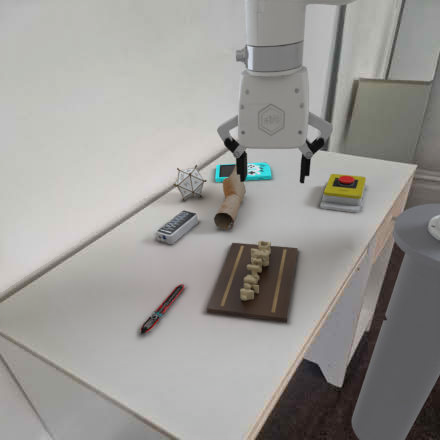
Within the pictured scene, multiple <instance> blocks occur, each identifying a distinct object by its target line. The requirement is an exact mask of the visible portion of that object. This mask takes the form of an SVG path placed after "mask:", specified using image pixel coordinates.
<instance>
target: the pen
mask: <svg viewBox="0 0 440 440" xmlns="http://www.w3.org/2000/svg"><path fill="white" fill-rule="evenodd" d="M184 288H185V285H184V283H181V284H178V285H176V287H174V289H173V290H172V291H171V292H170V294H168V296H167V297H166V298H165V299H164V301H162V303H161V304H160V305H159V307H158V308H156V310H154V311H153V314H152V315H151V316H149V317H148V318H147V319H146V321H144V322H143V324H142V325H141V328H140V331H141V332H140V334H141V335H142V334H145V333H148V332H149V331H151V330H152V329H153V328H154V327H155V326H156V324H157V323H158V321H159V320H160V317H161V316H164V313H165V312H166V311H167V310H168V309H169V307H170V306H171V304H173V302H174V301H175V300H176V299H177V298H178V297H179V295H180V294H181V293H182V291H183V290H184Z"/></svg>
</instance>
